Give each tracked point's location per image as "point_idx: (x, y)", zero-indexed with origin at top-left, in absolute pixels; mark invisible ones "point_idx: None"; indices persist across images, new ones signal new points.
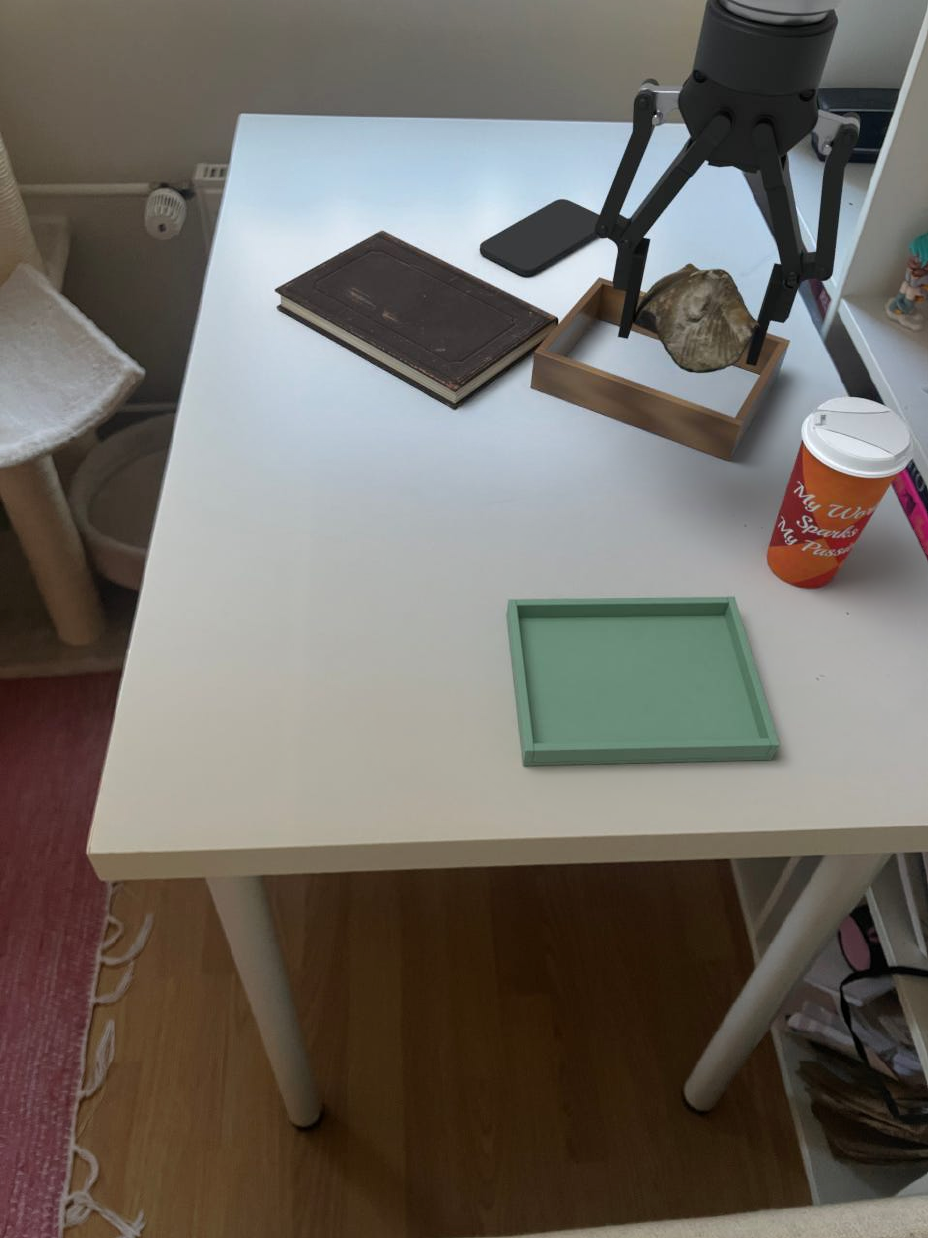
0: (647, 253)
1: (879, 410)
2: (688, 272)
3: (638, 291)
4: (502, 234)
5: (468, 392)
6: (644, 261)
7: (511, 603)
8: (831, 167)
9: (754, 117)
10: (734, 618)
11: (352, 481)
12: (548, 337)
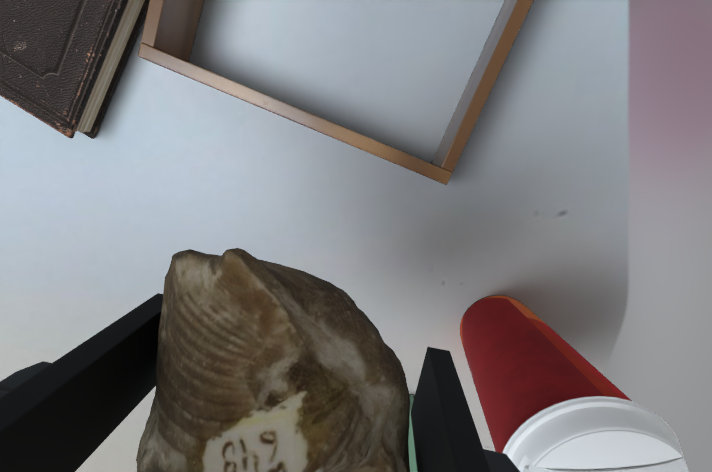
0: (29, 417)
1: (655, 459)
2: (206, 404)
3: (111, 396)
4: None
5: (98, 107)
6: (30, 468)
7: None
8: None
9: None
10: (412, 433)
11: (34, 277)
12: (150, 9)
